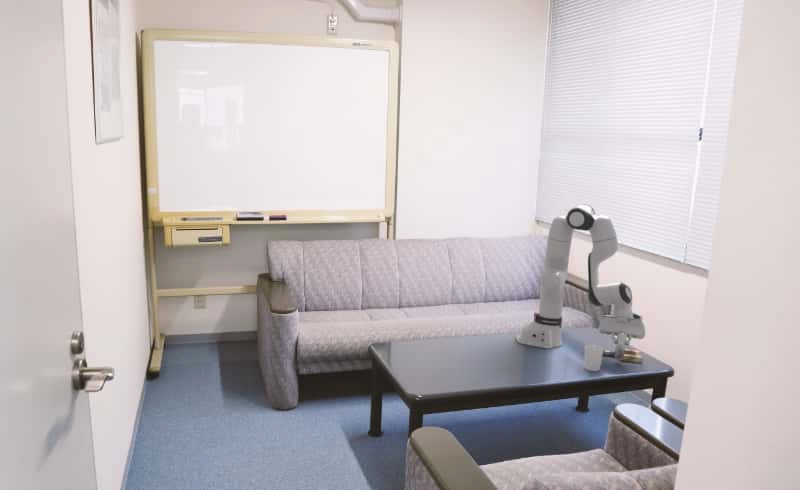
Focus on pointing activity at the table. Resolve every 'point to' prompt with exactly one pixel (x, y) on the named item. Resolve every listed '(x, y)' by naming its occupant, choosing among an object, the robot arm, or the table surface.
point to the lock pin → (608, 353)
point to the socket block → (632, 356)
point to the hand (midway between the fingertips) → (621, 343)
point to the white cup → (593, 357)
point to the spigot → (620, 345)
